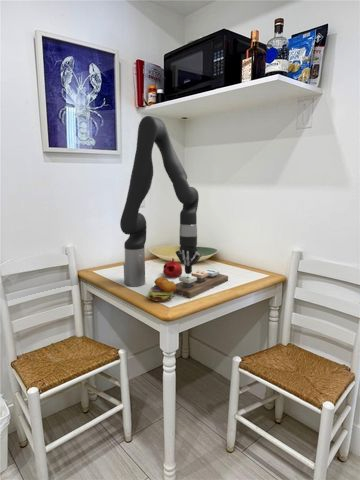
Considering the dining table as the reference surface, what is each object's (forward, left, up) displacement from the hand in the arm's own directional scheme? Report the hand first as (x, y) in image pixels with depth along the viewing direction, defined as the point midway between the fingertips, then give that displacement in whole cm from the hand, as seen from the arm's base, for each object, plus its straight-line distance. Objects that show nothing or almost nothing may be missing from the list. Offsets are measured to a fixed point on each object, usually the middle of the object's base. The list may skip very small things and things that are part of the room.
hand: (188, 273), depth 145 cm
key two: (0, +9, -6) cm, 11 cm away
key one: (0, 0, -6) cm, 6 cm away
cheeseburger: (-4, -13, -9) cm, 16 cm away
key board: (0, +9, -8) cm, 12 cm away
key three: (0, +18, -7) cm, 19 cm away
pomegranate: (-20, +13, -9) cm, 26 cm away
